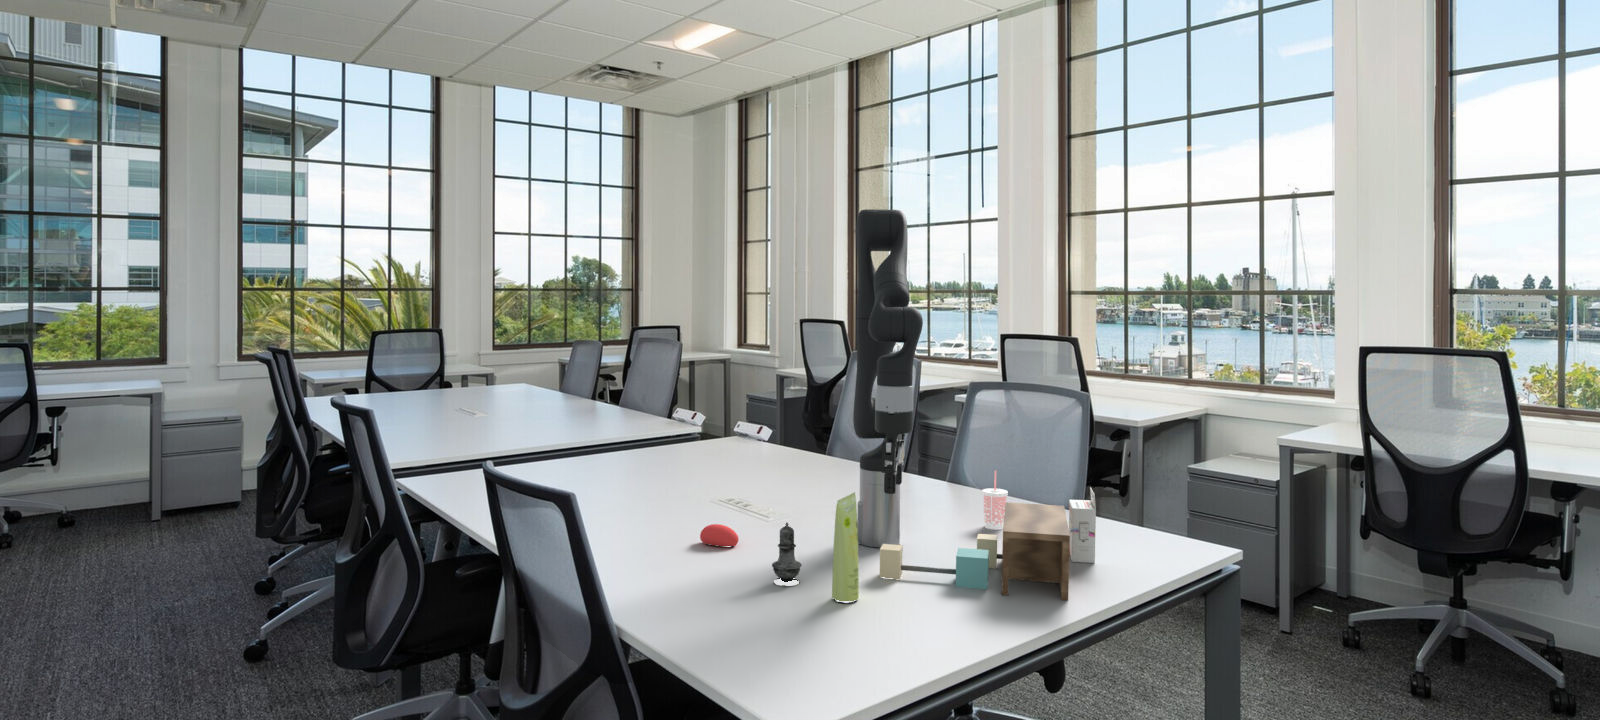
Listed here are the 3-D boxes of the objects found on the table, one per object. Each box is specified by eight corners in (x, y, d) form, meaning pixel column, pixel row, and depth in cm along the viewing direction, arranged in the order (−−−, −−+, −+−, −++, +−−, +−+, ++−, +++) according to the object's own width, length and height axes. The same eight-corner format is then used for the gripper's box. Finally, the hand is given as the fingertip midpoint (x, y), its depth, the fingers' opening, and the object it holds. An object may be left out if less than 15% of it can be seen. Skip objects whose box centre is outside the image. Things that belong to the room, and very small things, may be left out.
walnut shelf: (1001, 594, 166) (1002, 531, 165) (1004, 558, 189) (1005, 502, 188) (1068, 600, 163) (1069, 535, 162) (1062, 562, 186) (1064, 505, 185)
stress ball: (718, 558, 193) (732, 533, 193) (691, 537, 198) (704, 512, 198) (730, 560, 198) (744, 536, 198) (703, 539, 203) (717, 516, 203)
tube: (863, 604, 160) (864, 498, 159) (836, 606, 159) (837, 499, 158) (854, 594, 166) (855, 491, 164) (828, 596, 165) (829, 493, 163)
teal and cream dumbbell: (878, 580, 174) (879, 550, 174) (883, 571, 180) (883, 542, 179) (987, 589, 169) (987, 558, 169) (988, 579, 175) (988, 550, 174)
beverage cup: (1010, 526, 216) (1011, 469, 215) (1002, 531, 211) (1003, 474, 210) (986, 522, 219) (987, 467, 219) (977, 528, 214) (979, 471, 213)
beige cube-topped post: (976, 568, 182) (976, 539, 182) (977, 560, 188) (978, 532, 187) (1051, 574, 178) (1052, 545, 178) (1050, 565, 184) (1051, 537, 184)
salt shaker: (779, 589, 168) (780, 527, 168) (766, 580, 174) (766, 520, 173) (806, 584, 171) (807, 523, 170) (793, 576, 176) (793, 517, 176)
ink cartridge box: (1067, 551, 195) (1068, 485, 194) (1090, 552, 194) (1092, 486, 193) (1070, 562, 187) (1072, 493, 186) (1095, 563, 186) (1097, 494, 185)
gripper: (881, 402, 182) (880, 480, 183) (869, 411, 168) (868, 495, 169) (917, 404, 180) (916, 482, 181) (908, 413, 166) (907, 497, 167)
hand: (893, 488), depth 175 cm, fingers open, 8 cm apart
